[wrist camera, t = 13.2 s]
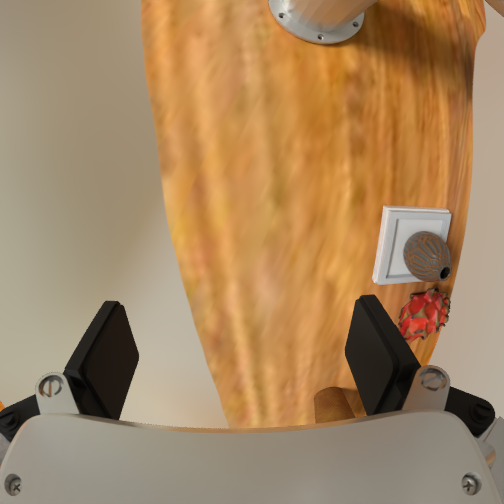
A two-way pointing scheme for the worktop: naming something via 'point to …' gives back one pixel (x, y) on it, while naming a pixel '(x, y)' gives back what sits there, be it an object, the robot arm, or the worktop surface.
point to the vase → (427, 257)
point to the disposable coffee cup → (331, 406)
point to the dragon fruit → (424, 315)
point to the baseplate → (404, 239)
